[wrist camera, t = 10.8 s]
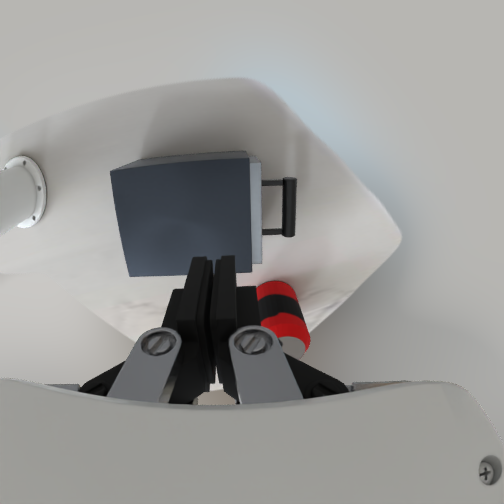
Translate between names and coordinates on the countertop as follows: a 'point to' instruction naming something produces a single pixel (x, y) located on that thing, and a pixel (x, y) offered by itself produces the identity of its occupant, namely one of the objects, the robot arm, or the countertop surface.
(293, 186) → the drawer
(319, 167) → the countertop surface
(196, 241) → the cabinet
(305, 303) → the countertop surface
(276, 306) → the soda can
